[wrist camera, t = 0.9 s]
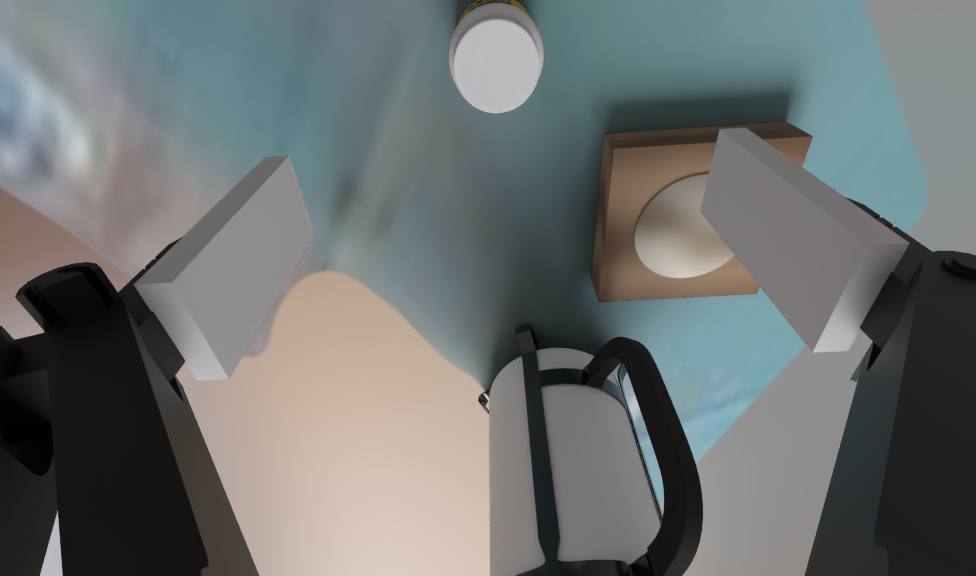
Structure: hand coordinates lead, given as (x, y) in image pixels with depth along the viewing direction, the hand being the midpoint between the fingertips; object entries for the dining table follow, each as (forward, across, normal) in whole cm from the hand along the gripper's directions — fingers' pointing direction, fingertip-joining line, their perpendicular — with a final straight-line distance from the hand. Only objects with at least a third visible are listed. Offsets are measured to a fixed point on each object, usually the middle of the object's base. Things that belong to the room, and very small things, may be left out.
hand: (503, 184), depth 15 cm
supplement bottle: (+18, 0, +2) cm, 18 cm away
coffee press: (+17, +4, -26) cm, 32 cm away
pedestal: (+17, +13, -10) cm, 24 cm away
